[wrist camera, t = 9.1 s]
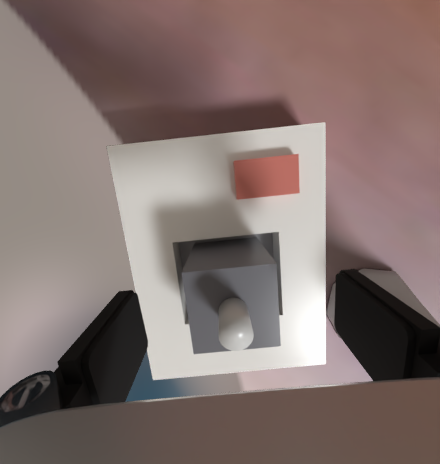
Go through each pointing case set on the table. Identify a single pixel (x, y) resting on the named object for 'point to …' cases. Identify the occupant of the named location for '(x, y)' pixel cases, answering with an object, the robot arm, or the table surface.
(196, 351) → the plug
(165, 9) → the table surface
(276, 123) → the table surface
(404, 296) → the flask
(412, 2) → the table surface
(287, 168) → the socket plate
